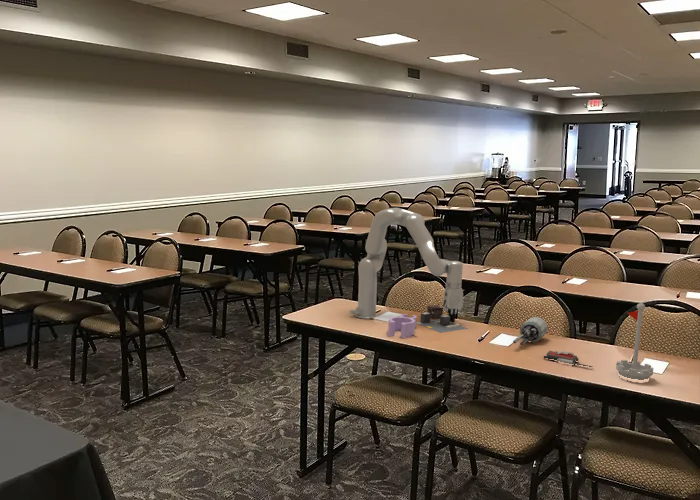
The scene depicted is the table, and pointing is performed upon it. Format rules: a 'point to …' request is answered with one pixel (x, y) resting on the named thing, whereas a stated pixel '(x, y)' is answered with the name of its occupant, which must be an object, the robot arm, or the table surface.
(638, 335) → the flag stand
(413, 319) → the clip
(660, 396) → the table surface
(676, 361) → the table surface
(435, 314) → the box
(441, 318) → the breaker
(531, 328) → the device
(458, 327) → the panel
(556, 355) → the walkie-talkie
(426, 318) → the block
